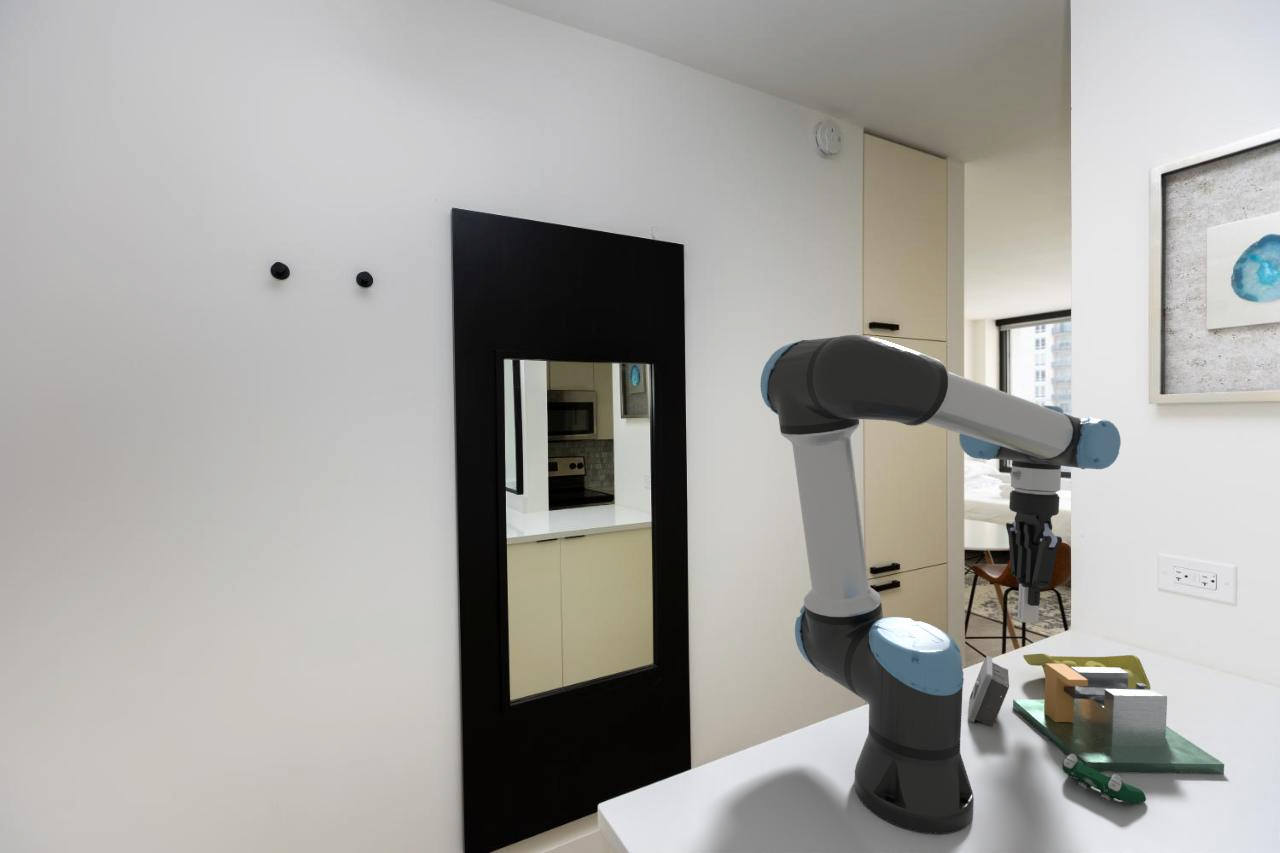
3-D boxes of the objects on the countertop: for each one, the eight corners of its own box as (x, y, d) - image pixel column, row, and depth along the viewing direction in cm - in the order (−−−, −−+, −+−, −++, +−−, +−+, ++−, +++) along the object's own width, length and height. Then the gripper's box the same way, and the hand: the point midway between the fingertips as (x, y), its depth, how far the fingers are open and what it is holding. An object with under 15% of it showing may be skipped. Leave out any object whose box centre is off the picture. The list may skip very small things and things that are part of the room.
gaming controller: (1066, 784, 93) (1050, 765, 91) (1076, 761, 94) (1061, 742, 92) (1139, 821, 85) (1124, 801, 83) (1149, 796, 86) (1135, 776, 84)
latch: (1066, 731, 101) (1068, 679, 100) (1044, 712, 107) (1045, 663, 106) (1086, 732, 101) (1087, 679, 100) (1061, 713, 107) (1063, 663, 106)
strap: (1074, 699, 101) (1074, 693, 101) (1063, 691, 103) (1064, 685, 103) (1160, 702, 100) (1160, 695, 100) (1147, 694, 103) (1148, 688, 103)
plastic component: (1099, 657, 128) (1142, 654, 119) (1109, 696, 125) (1155, 696, 116) (1011, 655, 125) (1049, 652, 116) (1020, 696, 122) (1059, 696, 113)
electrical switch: (969, 700, 115) (976, 651, 114) (1001, 709, 112) (1008, 660, 111) (967, 723, 107) (975, 671, 106) (1002, 734, 104) (1010, 681, 103)
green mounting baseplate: (1085, 771, 93) (1087, 709, 92) (1012, 707, 112) (1014, 655, 111) (1223, 773, 92) (1226, 711, 92) (1127, 708, 111) (1129, 656, 111)
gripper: (993, 485, 119) (987, 607, 120) (1035, 496, 106) (1028, 633, 107) (1033, 486, 119) (1027, 609, 120) (1080, 497, 105) (1073, 635, 106)
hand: (1027, 620), depth 113 cm, fingers closed
